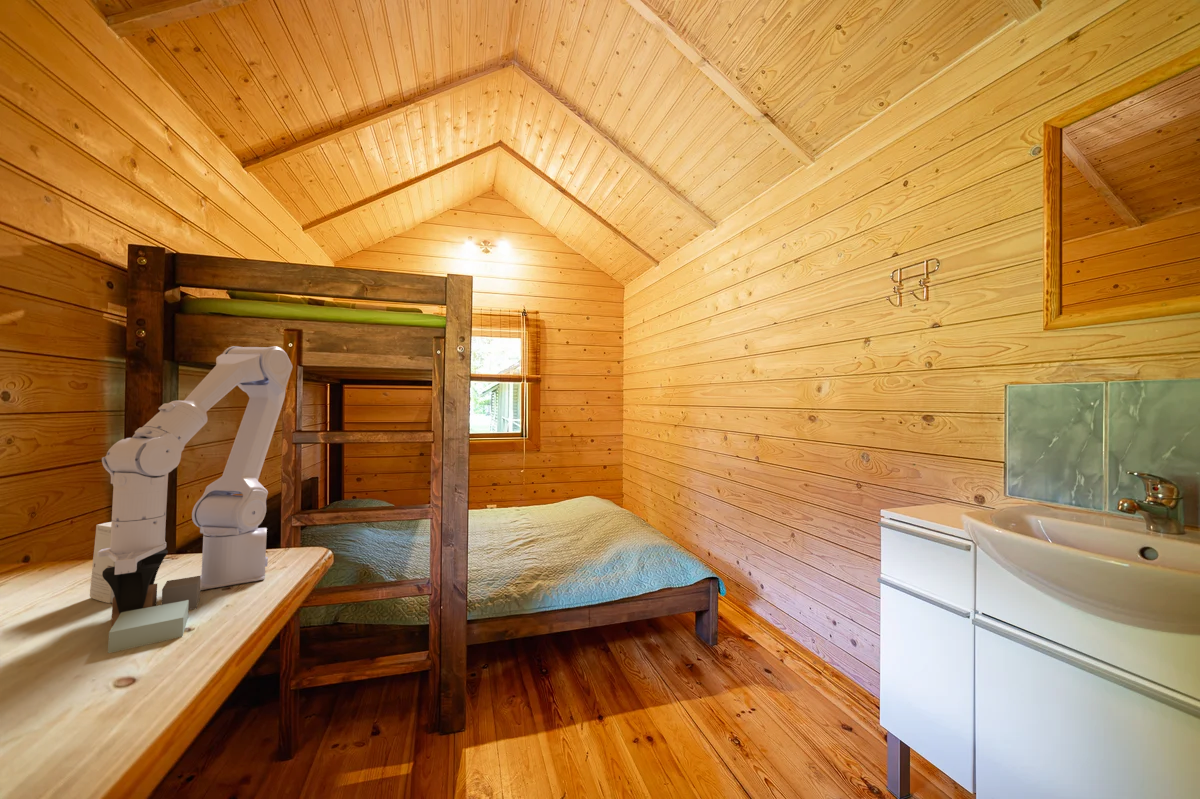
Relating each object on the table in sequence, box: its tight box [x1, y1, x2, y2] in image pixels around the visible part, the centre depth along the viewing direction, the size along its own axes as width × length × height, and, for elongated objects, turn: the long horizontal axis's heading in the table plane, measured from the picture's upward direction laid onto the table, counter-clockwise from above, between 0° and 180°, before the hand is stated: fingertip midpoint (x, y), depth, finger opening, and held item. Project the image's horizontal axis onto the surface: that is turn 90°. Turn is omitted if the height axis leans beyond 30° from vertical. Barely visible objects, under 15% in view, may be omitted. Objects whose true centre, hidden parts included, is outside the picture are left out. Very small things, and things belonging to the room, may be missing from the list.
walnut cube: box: [110, 583, 158, 627], centre depth 66 cm, size 4×4×4 cm
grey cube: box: [161, 575, 201, 611], centre depth 70 cm, size 4×4×4 cm
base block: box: [107, 600, 189, 654], centre depth 61 cm, size 7×7×3 cm
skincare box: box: [89, 521, 115, 604], centre depth 73 cm, size 6×4×12 cm
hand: (135, 607), depth 66 cm, fingers closed on walnut cube, 4 cm apart
